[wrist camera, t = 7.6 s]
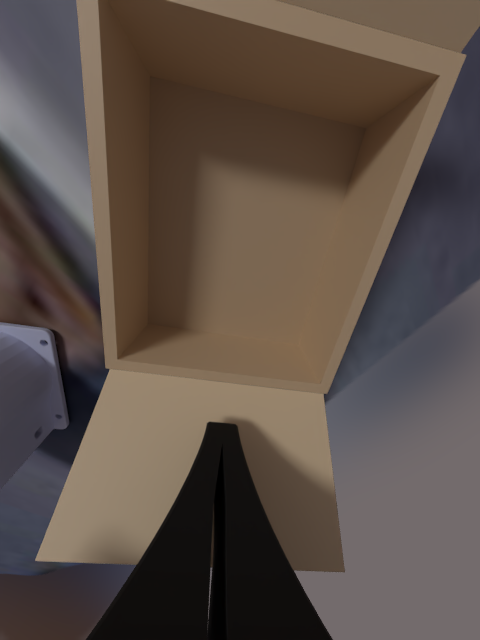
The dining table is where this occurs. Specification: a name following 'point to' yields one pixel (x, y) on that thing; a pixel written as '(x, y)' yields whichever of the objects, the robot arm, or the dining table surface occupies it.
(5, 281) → the dining table surface
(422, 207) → the dining table surface
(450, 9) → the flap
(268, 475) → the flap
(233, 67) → the carton
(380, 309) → the dining table surface
